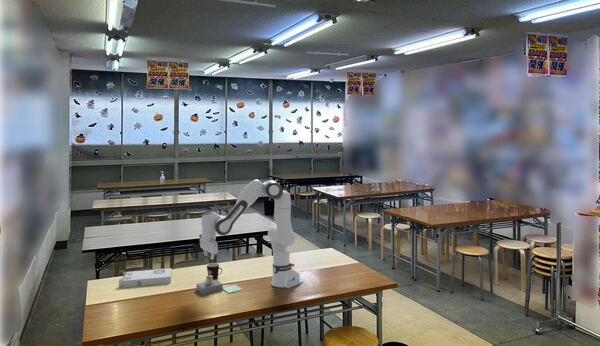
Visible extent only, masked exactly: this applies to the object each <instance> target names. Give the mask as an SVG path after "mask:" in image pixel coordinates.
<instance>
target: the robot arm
mask: <svg viewBox="0 0 600 346" xmlns="http://www.w3.org/2000/svg"><path fill="white" fill-rule="evenodd" d="M262 195H265V196H267V197H269V198H271V199H273V200H274V212H273V219H274V221H275V225H272V226H271V227H270V228H269V229H268V231H267V236H268V238H269V240H270V244H271V249H272V257H273V258H272V260H273V261H272V262H273V263H272V279H271V282H270V285H271V286H273V287H276V288H287V289H288V288H289V289H290V288H292V287H294V286H297V285H299V284H303V283H304V280H303V278H301V277H300V273H299V272H298V271H297V270H296V269H294V268H293V267H295V263H291V262H290V250H289V248H288V247H290V246H292V245H294V243H295V241H296V235H295V233H294V230H293V225H292V222H291V217H292V216H291V214H292V212H291V211H292V199H291V194H290V192H288V191H287V190H283V188H282V186H281V184H280V183H279V182H277V181H276V180H271V179H268V180H265V181H261V180H259V179H253V180H252V181H250V182H249V183H248V184H246V185H245V187H244V188H243V189H242V190H241V191H240V193H239V194H238V195H237V197H236V202H235V205H234V207H233V208H232V209H231V210H230V212H229V213H228V214H227V215H226V216H224V215H222V214H218V213H216V212H215V211H206V212H205V213H203V214H202V217H201V228H202V229H201V233H199V235H198V238H199V246H200V248H201V249H203V250H202V251H203V254H204V256H205V257H208V256H209V254H208V253H210V258H209V259H210V260H214V259H215V256H216V255H217V254H218V252H219V247H218V246H219V245H218V242H217V241H216V239H217V235H216V233H217V234H218V235H220V236H226V235H229V234H230V232H232V228H233V226H234V224H235V223H236V221H237V220H238V219H239V218H240V216H242V214H243V213H244V212H245V211H246V210H247V209H248V208H249V207H251V205H253V204H254V203H255V202H256V200H257V199H258V198H259V197H260V196H262Z"/></svg>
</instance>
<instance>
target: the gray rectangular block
mask: <svg viewBox="0 0 600 346" xmlns="http://www.w3.org/2000/svg"><path fill="white" fill-rule="evenodd" d="M195 286H196V291H198V293H200V294H201V295H207V294H211V292H212V293H215V292H219V291H224V290H223V288H224V284H223V283H222V282H221V281H219V280H218V279H216V280H213V285H209V286H207V285H206V281H203V282H200V283H196V285H195Z"/></svg>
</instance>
